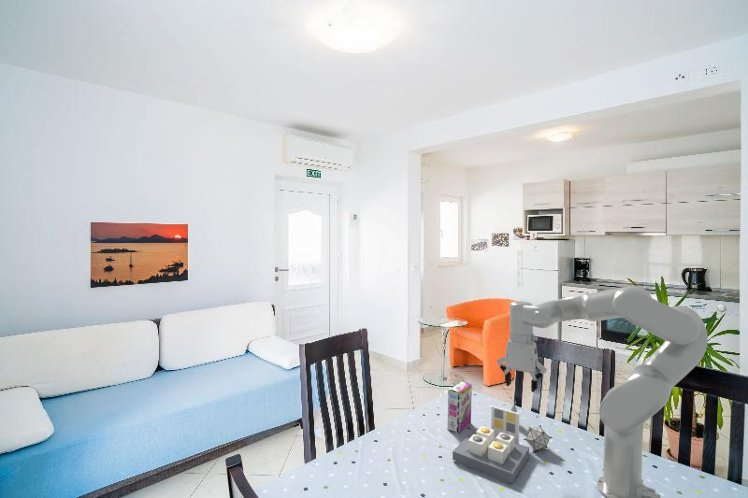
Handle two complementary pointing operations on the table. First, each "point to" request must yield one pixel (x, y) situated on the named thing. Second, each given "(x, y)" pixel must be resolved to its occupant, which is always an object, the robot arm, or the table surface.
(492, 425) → the card
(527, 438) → the game die
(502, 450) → the button
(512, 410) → the pocket watch
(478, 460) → the board
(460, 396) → the candy bar box
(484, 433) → the button
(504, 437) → the button
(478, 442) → the button
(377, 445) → the table surface
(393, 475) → the table surface
